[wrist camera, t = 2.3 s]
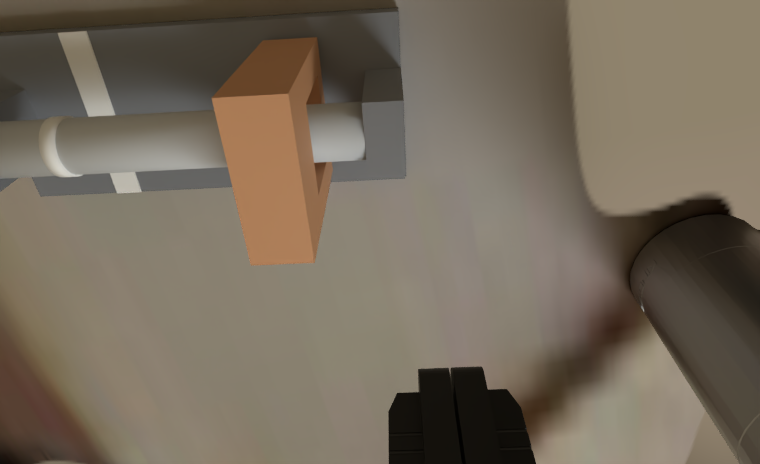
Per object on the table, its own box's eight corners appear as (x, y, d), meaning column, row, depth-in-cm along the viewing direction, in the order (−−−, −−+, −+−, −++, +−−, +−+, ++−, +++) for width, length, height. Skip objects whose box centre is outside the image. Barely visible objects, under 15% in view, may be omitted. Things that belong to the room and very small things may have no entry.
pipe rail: (398, 7, 29) (401, 34, 23) (404, 170, 34) (408, 226, 28) (-19, 33, 30) (-120, 66, 24) (50, 188, 35) (-19, 246, 29)
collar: (316, 37, 28) (288, 93, 20) (332, 169, 33) (314, 262, 24) (262, 40, 29) (211, 98, 20) (285, 172, 33) (250, 265, 24)
